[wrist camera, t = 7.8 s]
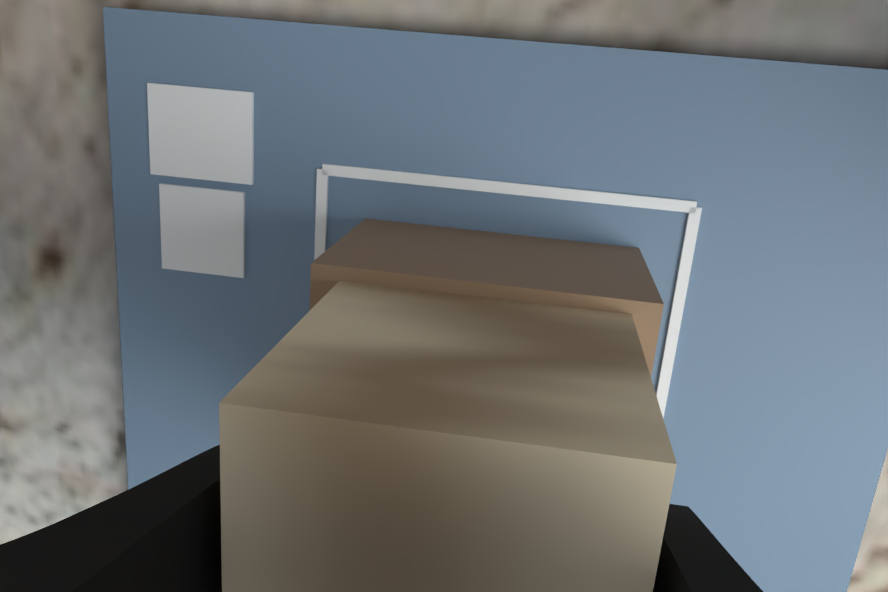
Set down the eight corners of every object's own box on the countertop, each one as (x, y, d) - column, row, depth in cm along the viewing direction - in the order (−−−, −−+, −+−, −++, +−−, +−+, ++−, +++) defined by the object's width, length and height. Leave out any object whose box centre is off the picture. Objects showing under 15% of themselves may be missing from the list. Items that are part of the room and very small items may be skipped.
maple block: (631, 314, 13) (676, 463, 8) (591, 567, 14) (609, 819, 9) (339, 281, 13) (218, 402, 9) (330, 528, 15) (224, 749, 10)
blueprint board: (967, 76, 15) (1148, 84, 11) (811, 641, 20) (891, 824, 15) (127, 9, 17) (-33, -10, 13) (150, 534, 22) (36, 667, 17)
